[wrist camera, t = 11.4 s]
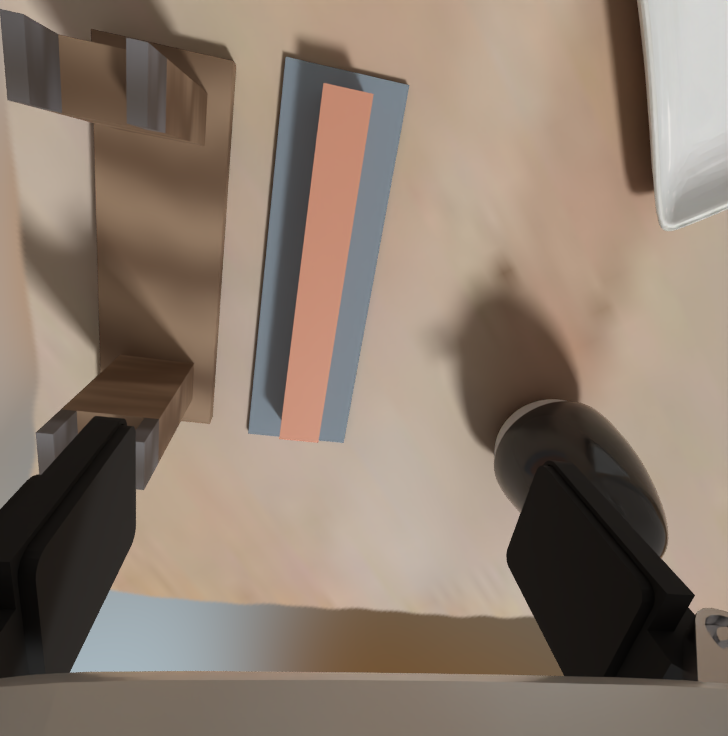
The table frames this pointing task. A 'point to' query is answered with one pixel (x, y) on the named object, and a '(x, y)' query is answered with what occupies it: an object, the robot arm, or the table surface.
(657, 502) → the pump dispenser
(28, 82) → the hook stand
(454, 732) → the robot arm
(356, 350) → the mat
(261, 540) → the table surface
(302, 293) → the rail
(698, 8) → the square plate
